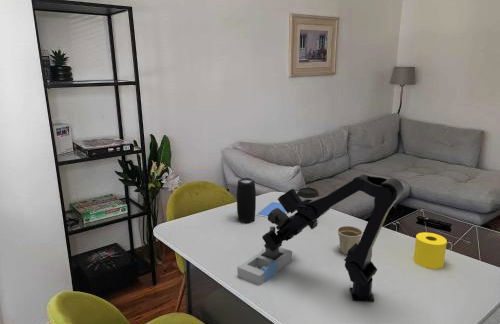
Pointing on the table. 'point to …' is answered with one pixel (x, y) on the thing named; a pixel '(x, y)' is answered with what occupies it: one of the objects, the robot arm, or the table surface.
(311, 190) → the coffee cup
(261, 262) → the cinder block
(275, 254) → the plug
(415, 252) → the yellow toilet paper roll
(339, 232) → the flower pot
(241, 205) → the portable speaker
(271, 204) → the blue flat slab
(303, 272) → the table surface
